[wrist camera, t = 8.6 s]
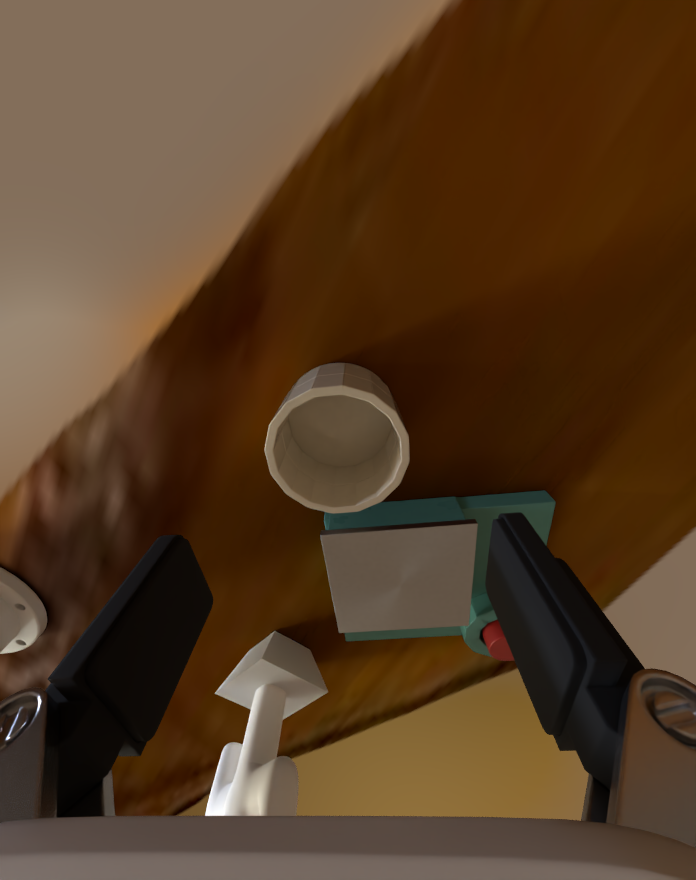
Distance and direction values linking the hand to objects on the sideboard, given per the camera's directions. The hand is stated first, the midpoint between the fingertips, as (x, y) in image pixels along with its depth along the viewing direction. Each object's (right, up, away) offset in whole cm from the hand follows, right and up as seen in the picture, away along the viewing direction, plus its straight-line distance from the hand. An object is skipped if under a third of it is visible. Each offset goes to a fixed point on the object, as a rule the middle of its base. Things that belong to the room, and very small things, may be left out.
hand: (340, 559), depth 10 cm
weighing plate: (+4, -5, +16) cm, 17 cm away
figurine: (-7, -17, +22) cm, 29 cm away
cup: (0, +5, +11) cm, 12 cm away
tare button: (+13, -12, +16) cm, 23 cm away
